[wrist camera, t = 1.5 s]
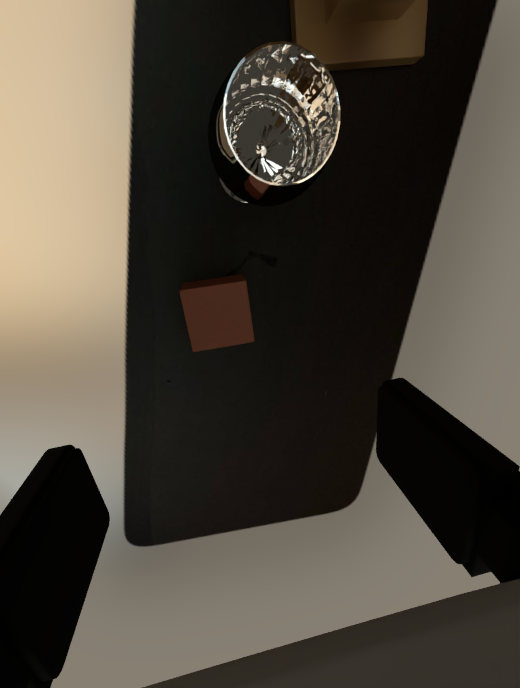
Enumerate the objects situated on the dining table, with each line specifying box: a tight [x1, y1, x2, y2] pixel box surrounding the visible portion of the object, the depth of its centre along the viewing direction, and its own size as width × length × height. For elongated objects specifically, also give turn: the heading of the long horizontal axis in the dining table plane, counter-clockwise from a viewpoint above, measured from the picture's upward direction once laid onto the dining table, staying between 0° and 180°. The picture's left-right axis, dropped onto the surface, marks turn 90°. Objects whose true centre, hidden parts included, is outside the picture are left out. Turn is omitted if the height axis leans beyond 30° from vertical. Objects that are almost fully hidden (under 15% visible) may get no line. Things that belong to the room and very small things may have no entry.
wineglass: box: [208, 41, 340, 206], centre depth 17 cm, size 6×6×12 cm
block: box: [179, 274, 255, 352], centre depth 25 cm, size 5×5×3 cm
